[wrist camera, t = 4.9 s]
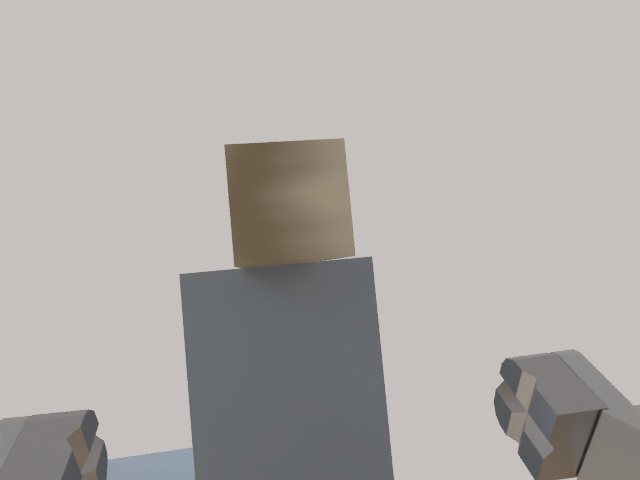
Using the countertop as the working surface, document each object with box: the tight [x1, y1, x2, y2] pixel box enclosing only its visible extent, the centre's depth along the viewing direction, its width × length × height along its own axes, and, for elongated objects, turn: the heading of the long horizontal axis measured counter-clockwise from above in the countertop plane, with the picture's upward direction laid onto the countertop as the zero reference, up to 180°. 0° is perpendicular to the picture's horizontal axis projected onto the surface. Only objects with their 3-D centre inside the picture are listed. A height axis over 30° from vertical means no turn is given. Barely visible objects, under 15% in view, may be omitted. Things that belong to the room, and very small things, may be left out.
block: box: [225, 138, 355, 268], centre depth 22 cm, size 3×22×3 cm, turn 8°
